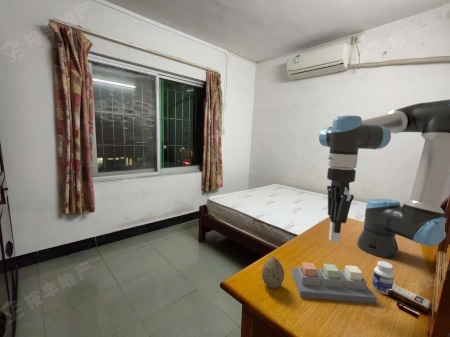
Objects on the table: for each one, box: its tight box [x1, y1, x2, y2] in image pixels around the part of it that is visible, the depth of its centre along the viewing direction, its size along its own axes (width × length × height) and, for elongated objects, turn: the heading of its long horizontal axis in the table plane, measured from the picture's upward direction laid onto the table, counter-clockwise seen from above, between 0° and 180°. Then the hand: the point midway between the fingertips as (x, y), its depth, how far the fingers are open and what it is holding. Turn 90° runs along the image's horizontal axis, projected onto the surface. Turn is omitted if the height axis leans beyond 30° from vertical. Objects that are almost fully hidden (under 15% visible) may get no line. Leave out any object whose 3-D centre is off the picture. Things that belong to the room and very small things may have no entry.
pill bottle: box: [371, 260, 395, 295], centre depth 69 cm, size 5×5×9 cm
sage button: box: [322, 263, 340, 279], centre depth 69 cm, size 4×4×3 cm
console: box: [290, 266, 377, 304], centre depth 70 cm, size 22×12×4 cm, turn 85°
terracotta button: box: [301, 261, 318, 277], centre depth 70 cm, size 4×4×3 cm
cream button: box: [344, 265, 363, 281], centre depth 68 cm, size 4×4×3 cm
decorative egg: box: [261, 256, 285, 289], centre depth 69 cm, size 7×7×10 cm
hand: (334, 240), depth 68 cm, fingers closed
